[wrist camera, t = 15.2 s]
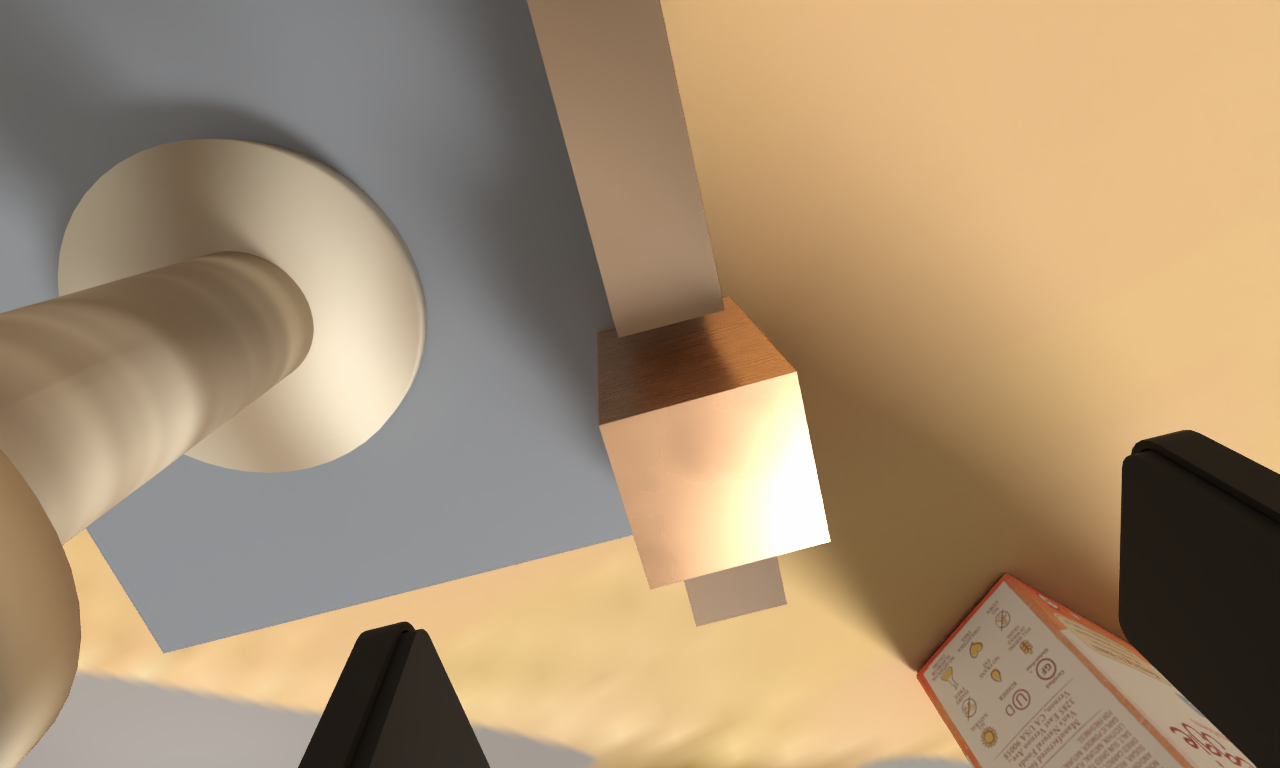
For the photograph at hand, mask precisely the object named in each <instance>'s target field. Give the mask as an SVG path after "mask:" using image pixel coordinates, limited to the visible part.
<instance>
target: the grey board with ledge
mask: <svg viewBox="0 0 1280 768" xmlns="http://www.w3.org/2000/svg"><path fill="white" fill-rule="evenodd" d="M194 139H239V140H251V141H260V142H265V143H269V144H274V145H279V146H283V147H286V148H289V149H291V150H294V151H297V152H300V153H303V154H306V155H308V156H310V157H312V158H314V159H316V160H318V161H320V162H322V163H324V164H326V165H328V166H329V167H331V168H333V169H334V170H336V171H337V172H339V173H340V174H342V175H343V176H345V177H347V178H348V179H349V180H351V181H352V182H353V183H354V184H355V185H357V186H358V187H359V188H360V189H362V190H363V191H364V192H365V193H366V194H367V195H368V196H369V197H370V198H371V199H372V200H373V201H374V202H375V203H376V204H377V205H378V206H379V207H380V208H381V209H382V210H383V211H384V213H385V214H386V215H387V216H388V218H389V219H390V220H391V222H392V223H393V224H394V226H395V227H396V228H397V230H398V231H399V233H400V235H401V236H402V238H403V240H404V241H405V243H406V245H407V247H408V248H409V250H410V253H411V255H412V257H413V259H414V262H415V264H416V266H417V269H418V272H419V275H420V279H421V282H422V285H423V289H424V295H425V301H426V307H427V337H426V345H425V351H424V355H423V358H422V362H421V366H420V369H419V371H418V373H417V376H416V378H415V380H414V383H413V385H412V386H411V388H410V389H409V391H408V393H407V394H406V396H405V398H404V399H403V401H402V402H401V403H400V405H399V406H398V407H397V409H396V410H395V411H394V413H393V414H392V415H391V416H390V418H389V419H388V420H387V421H386V422H385V423H384V425H383V426H382V427H381V428H380V429H379V430H378V431H377V432H376V433H375V434H374V435H373V436H371V437H370V438H369V439H368V440H367V441H366V442H364V443H363V444H361V445H360V446H358V447H357V448H355V449H354V450H352V451H351V452H349V453H347V454H345V455H343V456H341V457H339V458H337V459H335V460H333V461H330V462H327V463H324V464H321V465H318V466H315V467H312V468H307V469H301V470H296V471H290V472H276V473H263V472H247V471H240V470H234V469H228V468H224V467H220V466H216V465H212V464H209V463H205V462H203V461H200V460H197V459H195V458H192V457H190V456H187V455H184V454H183V455H182V456H180V457H179V458H178V459H176V460H175V461H174V462H172V463H171V464H170V465H168V466H167V467H166V468H164V469H163V470H162V471H160V472H159V473H158V474H156V475H155V476H154V477H152V478H151V479H150V480H149V481H147V482H146V483H145V484H143V485H142V486H141V487H139V488H138V489H137V490H135V491H134V492H133V493H131V494H130V495H129V496H127V497H126V498H125V499H123V500H122V501H121V502H119V503H118V504H117V505H115V506H114V507H113V508H111V509H110V510H109V511H107V512H106V513H105V514H103V515H102V516H101V517H99V518H98V519H97V520H95V521H94V522H93V523H91V524H90V525H89V526H87V527H86V529H87V531H88V532H89V534H90V535H91V537H92V539H93V540H94V542H95V544H96V545H97V547H98V548H99V550H100V552H101V553H102V555H103V556H104V558H105V560H106V561H107V563H108V564H109V566H110V568H111V569H112V571H113V573H114V574H115V576H116V577H117V579H118V581H119V582H120V584H121V585H122V587H123V589H124V590H125V592H126V593H127V595H128V597H129V598H130V600H131V602H132V603H133V605H134V606H135V608H136V610H137V611H138V613H139V614H140V616H141V618H142V619H143V621H144V622H145V624H146V626H147V627H148V629H149V631H150V632H151V634H152V635H153V637H154V639H155V640H156V642H157V643H158V645H159V647H160V648H161V650H162V651H163V653H167V652H171V651H175V650H179V649H183V648H187V647H191V646H195V645H199V644H203V643H207V642H210V641H214V640H218V639H222V638H226V637H230V636H234V635H238V634H242V633H246V632H250V631H254V630H258V629H262V628H266V627H270V626H274V625H278V624H282V623H286V622H290V621H294V620H298V619H302V618H306V617H309V616H313V615H317V614H321V613H325V612H329V611H333V610H337V609H341V608H345V607H349V606H353V605H357V604H361V603H365V602H369V601H373V600H377V599H381V598H385V597H389V596H393V595H397V594H401V593H405V592H408V591H412V590H416V589H420V588H424V587H428V586H432V585H436V584H440V583H444V582H448V581H452V580H456V579H460V578H464V577H468V576H472V575H476V574H480V573H484V572H488V571H492V570H496V569H500V568H504V567H508V566H511V565H515V564H519V563H523V562H527V561H531V560H535V559H539V558H543V557H547V556H551V555H555V554H559V553H563V552H567V551H571V550H575V549H579V548H583V547H587V546H591V545H595V544H599V543H603V542H607V541H610V540H614V539H618V538H622V537H626V536H630V535H633V533H632V529H631V526H630V523H629V520H628V517H627V514H626V510H625V507H624V504H623V501H622V498H621V495H620V491H619V488H618V485H617V482H616V479H615V476H614V472H613V469H612V466H611V463H610V460H609V456H608V453H607V450H606V447H605V444H604V441H603V437H602V434H601V431H600V428H599V411H598V355H597V332H600V331H604V330H608V329H611V328H616V331H617V335H618V338H620V337H624V336H627V335H631V334H635V333H639V332H643V331H647V330H651V329H654V328H658V327H662V326H666V325H670V324H674V323H678V322H681V321H685V320H689V319H693V318H697V317H701V316H705V315H708V314H712V313H716V312H720V311H724V310H725V308H724V303H723V298H722V294H721V289H720V284H719V279H718V275H717V270H716V265H715V260H714V256H713V251H712V246H711V241H710V237H709V232H708V227H707V222H706V218H705V213H704V208H703V203H702V199H701V194H700V189H699V184H698V180H697V175H696V170H695V165H694V161H693V156H692V151H691V146H690V142H689V137H688V132H687V127H686V123H685V118H684V113H683V108H682V104H681V99H680V94H679V89H678V85H677V80H676V75H675V70H674V66H673V61H672V56H671V51H670V47H669V42H668V37H667V32H666V28H665V23H664V18H663V13H662V9H661V4H660V0H0V313H4V312H7V311H11V310H14V309H18V308H21V307H25V306H28V305H32V304H35V303H39V302H42V301H46V300H49V299H53V298H57V297H59V290H58V265H59V254H60V249H61V245H62V241H63V237H64V233H65V230H66V228H67V226H68V223H69V221H70V219H71V216H72V214H73V212H74V210H75V209H76V207H77V206H78V204H79V203H80V201H81V199H82V198H83V196H84V195H85V193H86V192H87V191H88V190H89V189H90V188H91V187H92V186H93V185H94V184H95V183H96V181H97V180H98V179H99V178H100V177H101V176H103V175H104V174H105V173H106V172H108V171H109V170H110V169H112V168H113V167H114V166H116V165H117V164H118V163H120V162H122V161H124V160H126V159H127V158H129V157H131V156H133V155H135V154H137V153H138V152H141V151H144V150H147V149H150V148H153V147H155V146H158V145H161V144H167V143H172V142H177V141H182V140H194ZM684 582H685V586H686V590H687V593H688V597H689V601H690V604H691V608H692V612H693V616H694V619H695V623H696V627H697V626H701V625H705V624H709V623H713V622H717V621H721V620H725V619H729V618H733V617H737V616H741V615H745V614H749V613H753V612H757V611H761V610H765V609H769V608H773V607H777V606H781V605H785V604H787V602H786V598H785V593H784V588H783V583H782V579H781V574H780V569H779V564H778V560H777V556H774V557H770V558H766V559H763V560H759V561H755V562H751V563H747V564H744V565H740V566H736V567H732V568H729V569H725V570H721V571H717V572H714V573H710V574H706V575H702V576H699V577H695V578H691V579H687V580H684Z"/></svg>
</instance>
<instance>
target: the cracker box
mask: <svg viewBox="0 0 1280 768" xmlns="http://www.w3.org/2000/svg"><path fill="white" fill-rule="evenodd" d="M917 679H918V681H919V682H920V684H921V685H922V687H923V688H924V690H925V691H926V693H927V695H928V696H929V698H930V700H931V701H932V703H933V704H934V706H935V708H936V709H937V711H938V713H939V714H940V716H941V717H942V719H943V721H944V722H945V724H946V725H947V727H948V728H949V730H950V731H951V733H952V735H953V736H954V738H955V739H956V741H957V743H958V744H959V746H960V748H961V749H962V751H963V753H964V755H965V756H966V758H967V760H968V761H969V763H970V765H971V766H972V768H1257V767H1256V766H1255V765H1254V764H1253V763H1252V762H1251V761H1250V760H1249V759H1248V758H1247V757H1246V756H1245V755H1244V754H1243V753H1242V752H1241V751H1240V750H1239V749H1238V748H1236V747H1235V746H1234V745H1233V744H1232V743H1231V742H1230V741H1229V740H1228V739H1227V738H1226V737H1225V736H1224V735H1223V734H1222V733H1221V732H1220V731H1219V730H1218V729H1217V728H1216V727H1215V726H1214V725H1213V724H1212V723H1211V722H1210V721H1209V720H1208V719H1207V718H1206V717H1205V716H1204V715H1203V714H1202V713H1201V712H1200V711H1199V710H1197V709H1196V708H1195V707H1194V706H1193V705H1192V704H1191V703H1190V702H1189V701H1188V700H1187V699H1186V698H1185V697H1184V696H1183V695H1182V694H1181V693H1180V692H1179V691H1178V690H1177V689H1176V688H1175V687H1174V686H1173V685H1172V684H1171V683H1170V682H1169V681H1168V680H1167V679H1166V678H1165V677H1164V676H1163V675H1162V674H1161V673H1160V672H1158V671H1157V670H1156V669H1155V668H1154V667H1153V666H1152V665H1151V664H1150V663H1149V662H1148V661H1147V660H1146V659H1145V658H1144V657H1143V656H1142V655H1141V654H1140V653H1139V652H1138V651H1137V650H1136V649H1135V648H1134V647H1133V646H1132V645H1131V644H1129V643H1127V642H1125V641H1124V640H1122V639H1120V638H1118V637H1117V636H1115V635H1113V634H1112V633H1110V632H1108V631H1106V630H1105V629H1103V628H1101V627H1099V626H1098V625H1096V624H1094V623H1092V622H1091V621H1089V620H1087V619H1086V618H1084V617H1082V616H1080V615H1079V614H1077V613H1075V612H1073V611H1072V610H1070V609H1068V608H1066V607H1065V606H1063V605H1061V604H1059V603H1058V602H1056V601H1054V600H1053V599H1051V598H1049V597H1047V596H1046V595H1044V594H1042V593H1040V592H1039V591H1037V590H1035V589H1033V588H1032V587H1030V586H1028V585H1027V584H1025V583H1023V582H1021V581H1020V580H1018V579H1016V578H1014V577H1012V576H1011V575H1009V574H1004V575H1003V576H1002V577H1001V578H1000V580H999V581H998V582H997V583H996V584H995V585H994V586H993V587H992V589H991V590H990V591H989V592H988V594H987V595H986V596H985V597H984V598H983V599H982V601H981V602H980V603H979V604H978V605H977V606H976V607H975V608H974V609H973V610H972V612H971V613H970V614H969V615H968V616H967V617H966V618H965V620H964V621H963V622H962V623H961V624H960V625H959V627H958V628H957V629H956V630H955V631H954V632H953V633H952V634H951V635H950V636H949V638H948V639H947V640H946V641H945V642H944V643H943V644H942V645H941V647H940V648H939V649H938V650H937V651H936V652H935V653H934V655H933V656H932V657H931V658H930V659H929V660H928V661H927V663H926V664H925V665H924V666H923V667H922V668H921V669H920V671H919V672H918V673H917Z"/></svg>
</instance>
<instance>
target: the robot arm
mask: <svg viewBox="0 0 1280 768" xmlns="http://www.w3.org/2000/svg"><path fill="white" fill-rule="evenodd" d="M1119 622H1120V625H1121V628H1122V631H1123V633H1124V635H1125V636H1126V638H1127V639H1128V641H1129V642H1130V644H1131V645H1132V646H1133V647H1134V648H1135V649H1136V650H1137V651H1138V652H1139V653H1140V654H1141V655H1142V656H1143V657H1144V658H1145V659H1146V660H1147V661H1148V662H1149V663H1150V664H1151V665H1152V666H1153V667H1154V668H1155V669H1156V670H1157V671H1158V672H1160V673H1161V674H1162V675H1163V676H1164V677H1165V678H1166V679H1167V680H1168V681H1169V682H1170V683H1171V684H1172V685H1173V686H1174V687H1175V688H1176V689H1177V690H1178V691H1179V692H1180V693H1181V694H1182V695H1183V696H1184V697H1185V698H1186V699H1187V700H1188V701H1189V702H1190V703H1191V704H1192V705H1193V706H1194V707H1195V708H1196V709H1197V710H1199V711H1200V712H1201V713H1202V714H1203V715H1204V716H1205V717H1206V718H1207V719H1208V720H1209V721H1210V722H1211V723H1212V724H1213V725H1214V726H1215V727H1216V728H1217V729H1218V730H1219V731H1220V732H1221V733H1222V734H1223V735H1224V736H1225V737H1226V738H1227V739H1228V740H1229V741H1230V742H1231V743H1232V744H1233V745H1234V746H1235V747H1236V748H1238V749H1239V750H1240V751H1241V752H1242V753H1243V754H1244V755H1245V756H1246V757H1247V758H1248V759H1249V760H1250V761H1251V762H1252V763H1253V764H1254V765H1255V766H1256V767H1257V768H1280V474H1278V473H1276V472H1274V471H1272V470H1270V469H1268V468H1266V467H1264V466H1262V465H1260V464H1258V463H1256V462H1254V461H1253V460H1251V459H1249V458H1247V457H1245V456H1243V455H1241V454H1239V453H1237V452H1235V451H1233V450H1231V449H1229V448H1227V447H1225V446H1223V445H1221V444H1219V443H1218V442H1216V441H1214V440H1212V439H1210V438H1208V437H1206V436H1204V435H1202V434H1200V433H1197V432H1195V431H1192V430H1182V431H1178V432H1174V433H1170V434H1166V435H1162V436H1158V437H1153V438H1149V439H1145V440H1141V441H1140V442H1138V443H1136V444H1135V446H1134V447H1133V449H1132V453H1131V455H1129V456H1128V457H1126V458H1125V460H1124V461H1123V465H1122V494H1121V536H1120V578H1119ZM298 768H490V766H489V764H488V762H487V760H486V757H485V755H484V753H483V751H482V749H481V747H480V744H479V742H478V740H477V738H476V736H475V734H474V731H473V729H472V727H471V725H470V723H469V721H468V718H467V716H466V714H465V712H464V710H463V708H462V706H461V703H460V701H459V699H458V697H457V695H456V693H455V690H454V688H453V686H452V684H451V682H450V680H449V677H448V675H447V673H446V671H445V669H444V667H443V665H442V662H441V660H440V658H439V656H438V654H437V652H436V649H435V647H434V645H433V643H432V641H431V639H430V637H429V635H428V633H427V632H426V631H425V630H424V629H419V630H415V629H414V628H413V626H412V625H411V624H410V623H408V622H400V623H396V624H392V625H388V626H384V627H380V628H376V629H372V630H368V631H365V632H363V633H361V634H360V636H359V637H358V639H357V641H356V643H355V645H354V647H353V649H352V652H351V654H350V656H349V658H348V660H347V662H346V665H345V667H344V669H343V671H342V673H341V675H340V678H339V680H338V682H337V684H336V686H335V689H334V691H333V693H332V695H331V697H330V699H329V702H328V704H327V706H326V708H325V710H324V712H323V715H322V717H321V719H320V721H319V723H318V726H317V728H316V730H315V732H314V735H313V736H312V739H311V741H310V743H309V745H308V747H307V750H306V752H305V754H304V756H303V758H302V760H301V763H300V765H299V767H298Z"/></svg>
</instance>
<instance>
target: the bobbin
mask: <svg viewBox="0 0 1280 768" xmlns="http://www.w3.org/2000/svg"><path fill="white" fill-rule="evenodd" d="M58 290H59V297H57V298H53V299H49V300H46V301H42V302H39V303H35V304H32V305H28V306H25V307H21V308H18V309H14V310H11V311H7V312H4V313H0V768H15V767H16V766H17V765H18V763H19V762H20V761H21V760H22V759H23V758H24V757H25V756H26V755H27V754H28V753H29V752H30V750H32V748H33V747H34V746H35V745H36V744H37V743H38V742H39V740H40V739H41V738H42V737H43V735H44V734H45V733H46V732H47V730H48V729H49V728H50V727H51V725H52V724H53V723H54V721H55V720H56V718H57V716H58V714H59V712H60V711H61V709H62V707H63V705H64V703H65V701H66V700H67V698H68V696H69V693H70V689H71V686H72V683H73V680H74V677H75V674H76V671H77V667H78V659H79V650H80V642H81V627H80V610H79V601H78V597H77V592H76V588H75V584H74V579H73V575H72V570H71V567H70V565H69V562H68V560H67V557H66V555H65V552H64V549H63V547H62V545H64V544H65V543H66V542H68V541H69V540H70V539H72V538H73V537H74V536H76V535H77V534H78V533H79V532H81V531H82V530H83V529H85V528H86V527H87V526H89V525H90V524H91V523H93V522H94V521H95V520H97V519H98V518H99V517H101V516H102V515H103V514H105V513H106V512H107V511H109V510H110V509H111V508H113V507H114V506H115V505H117V504H118V503H119V502H121V501H122V500H123V499H125V498H126V497H127V496H129V495H130V494H131V493H133V492H134V491H135V490H137V489H138V488H139V487H141V486H142V485H143V484H145V483H146V482H147V481H149V480H150V479H151V478H152V477H154V476H155V475H156V474H158V473H159V472H160V471H162V470H163V469H164V468H166V467H167V466H168V465H170V464H171V463H172V462H174V461H175V460H176V459H178V458H179V457H180V456H182V455H183V454H184V455H187V456H190V457H192V458H195V459H197V460H200V461H203V462H205V463H209V464H212V465H216V466H220V467H224V468H228V469H234V470H240V471H247V472H263V473H276V472H290V471H296V470H301V469H307V468H312V467H315V466H318V465H321V464H324V463H327V462H330V461H333V460H335V459H337V458H339V457H341V456H343V455H345V454H347V453H349V452H351V451H352V450H354V449H355V448H357V447H358V446H360V445H361V444H363V443H364V442H366V441H367V440H368V439H369V438H370V437H371V436H373V435H374V434H375V433H376V432H377V431H378V430H379V429H380V428H381V427H382V426H383V425H384V423H385V422H386V421H387V420H388V419H389V418H390V416H391V415H392V414H393V413H394V411H395V410H396V409H397V407H398V406H399V405H400V403H401V402H402V401H403V399H404V398H405V396H406V394H407V393H408V391H409V389H410V388H411V386H412V385H413V383H414V380H415V378H416V376H417V373H418V371H419V369H420V366H421V362H422V358H423V355H424V351H425V345H426V337H427V307H426V301H425V295H424V289H423V285H422V282H421V279H420V275H419V272H418V269H417V266H416V264H415V262H414V259H413V257H412V255H411V253H410V250H409V248H408V247H407V245H406V243H405V241H404V240H403V238H402V236H401V235H400V233H399V231H398V230H397V228H396V227H395V226H394V224H393V223H392V222H391V220H390V219H389V218H388V216H387V215H386V214H385V213H384V211H383V210H382V209H381V208H380V207H379V206H378V205H377V204H376V203H375V202H374V201H373V200H372V199H371V198H370V197H369V196H368V195H367V194H366V193H365V192H364V191H363V190H362V189H360V188H359V187H358V186H357V185H355V184H354V183H353V182H352V181H351V180H349V179H348V178H347V177H345V176H343V175H342V174H340V173H339V172H337V171H336V170H334V169H333V168H331V167H329V166H328V165H326V164H324V163H322V162H320V161H318V160H316V159H314V158H312V157H310V156H308V155H306V154H303V153H300V152H297V151H294V150H291V149H289V148H286V147H283V146H279V145H274V144H269V143H265V142H260V141H251V140H239V139H194V140H182V141H177V142H172V143H167V144H161V145H158V146H155V147H153V148H150V149H147V150H144V151H141V152H138V153H137V154H135V155H133V156H131V157H129V158H127V159H126V160H124V161H122V162H120V163H118V164H117V165H116V166H114V167H113V168H112V169H110V170H109V171H108V172H106V173H105V174H104V175H103V176H101V177H100V178H99V179H98V180H97V181H96V183H95V184H94V185H93V186H92V187H91V188H90V189H89V190H88V191H87V192H86V193H85V195H84V196H83V198H82V199H81V201H80V203H79V204H78V206H77V207H76V209H75V210H74V212H73V214H72V216H71V219H70V221H69V223H68V226H67V228H66V230H65V233H64V237H63V241H62V245H61V249H60V254H59V265H58Z"/></svg>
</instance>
